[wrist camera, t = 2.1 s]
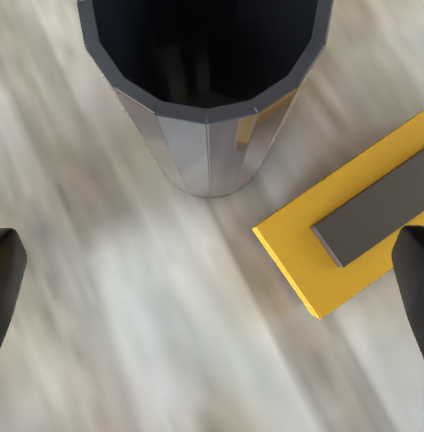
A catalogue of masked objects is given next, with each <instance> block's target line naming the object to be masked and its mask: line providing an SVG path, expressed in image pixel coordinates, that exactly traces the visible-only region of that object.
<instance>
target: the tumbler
mask: <svg viewBox="0 0 424 432" xmlns="http://www.w3.org/2000/svg"><path fill="white" fill-rule="evenodd" d="M333 1H334V0H77V7H78V12H79V17H80V23H81V28H82V33H83V39H84V44H85V47H86V50H87V52H88V53H89V55H90V57H91V58H92V60H93V61H94V63H95V65H96V66H97V68H98V69H99V71H100V73H101V74H102V76H103V77H104V79H105V81H106V82H107V84H108V85H109V87H110V89H111V90H112V92H113V93H114V95H115V97H116V98H117V100H118V101H119V103H120V105H121V106H122V108H123V109H124V111H125V113H126V114H127V116H128V118H129V119H130V121H131V122H132V124H133V126H134V127H135V129H136V130H137V132H138V134H139V135H140V137H141V138H142V140H143V142H144V143H145V145H146V146H147V148H148V150H149V151H150V153H151V154H152V156H153V158H154V159H155V161H156V162H157V164H158V165H159V167H160V168H161V170H162V171H163V173H164V174H165V176H166V177H167V179H168V180H169V181H170V182H171V183H173V184H174V185H175V186H176V187H178V188H179V189H181V190H182V191H184V192H186V193H189V194H191V195H194V196H198V197H205V198H215V197H222V196H225V195H229V194H231V193H233V192H235V191H237V190H239V189H241V188H242V187H243V186H245V185H246V184H247V183H248V182H249V181H251V179H252V178H253V177H254V175H255V174H256V172H257V171H258V169H259V167H260V166H261V164H262V163H263V161H264V159H265V157H266V156H267V154H268V152H269V150H270V148H271V146H272V144H273V143H274V141H275V139H276V137H277V135H278V133H279V131H280V130H281V128H282V126H283V124H284V122H285V120H286V118H287V117H288V115H289V113H290V111H291V109H292V107H293V106H294V104H295V102H296V100H297V98H298V96H299V94H300V93H301V91H302V89H303V87H304V85H305V83H306V81H307V80H308V78H309V76H310V74H311V72H312V70H313V68H314V67H315V65H316V63H317V61H318V59H319V57H320V55H321V54H322V52H323V50H324V48H325V45H326V43H327V37H328V31H329V25H330V19H331V13H332V7H333Z"/></svg>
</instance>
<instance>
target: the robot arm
mask: <svg viewBox="0 0 424 432" xmlns="http://www.w3.org/2000/svg"><path fill="white" fill-rule="evenodd" d="M391 259H392V263H393V267H394V271H395V274H396V278H397V282H398V285H399V289H400V293H401V296H402V300H403V304H404V308H405V311H406V314H407V317H408V320H409V323H410V325H411V328H412V331H413V333H414V336H415V338H416V341H417V343H418V346H419V348H420V351H421V353H422V356H423V358H424V226H422V225H405V226H403V227H402V228H401V230H400V232H399V234H398V237H397V239H396V242H395V244H394V246H393V249H392V253H391ZM26 264H27V253H26V251H25V249H24V246H23V244H22V242H21V240H20V238H19V235H18V233H17V231H16V230H15V229H13V228H0V348H1V345H2V343H3V340H4V338H5V335H6V332H7V330H8V327H9V324H10V322H11V319H12V316H13V312H14V309H15V305H16V301H17V297H18V294H19V290H20V286H21V283H22V279H23V275H24V271H25V268H26Z"/></svg>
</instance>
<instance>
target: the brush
mask: <svg viewBox="0 0 424 432" xmlns="http://www.w3.org/2000/svg"><path fill="white" fill-rule="evenodd" d="M405 225H422V226H424V110H423V111H422V112H420V113H419V114H417V115H416V116H414V117H413V118H411V119H410V120H409V121H407V122H406V123H404V124H403V125H401V126H400V127H398V128H397V129H396V130H394V131H393V132H391V133H390V134H388V135H387V136H385V137H384V138H382V139H381V140H380V141H378V142H377V143H375V144H374V145H372V146H371V147H369V148H368V149H367V150H365V151H364V152H362V153H361V154H359V155H358V156H356V157H355V158H353V159H352V160H351V161H349V162H348V163H346V164H345V165H343V166H342V167H340V168H339V169H337V170H336V171H335V172H333V173H332V174H330V175H329V176H327V177H326V178H324V179H323V180H322V181H320V182H319V183H317V184H316V185H314V186H313V187H311V188H310V189H308V190H307V191H306V192H304V193H303V194H301V195H300V196H298V197H297V198H295V199H294V200H293V201H291V202H290V203H288V204H287V205H285V206H284V207H282V208H281V209H279V210H278V211H277V212H275V213H274V214H272V215H271V216H269V217H268V218H266V219H265V220H264V221H262V222H261V223H259V224H258V225H256V226H255V227H253V228H252V230H253V231H254V233H255V234H256V236H257V237H258V239H259V240H260V241H261V243H262V244H263V246H264V247H265V249H266V250H267V251H268V253H269V254H270V256H271V257H272V259H273V260H274V261H275V263H276V264H277V266H278V267H279V269H280V270H281V272H282V273H283V274H284V276H285V277H286V279H287V280H288V282H289V283H290V284H291V286H292V287H293V289H294V290H295V292H296V293H297V294H298V296H299V297H300V299H301V300H302V302H303V303H304V304H305V306H306V307H307V309H308V310H309V312H310V313H311V314H312V315H314V316H315V317H317V318H318V319H322V318H323V317H324V316H326V315H327V314H329V313H330V312H331V311H333V310H334V309H336V308H337V307H338V306H340V305H341V304H343V303H344V302H346V301H347V300H348V299H350V298H351V297H353V296H354V295H355V294H357V293H358V292H360V291H361V290H362V289H364V288H365V287H367V286H368V285H369V284H371V283H372V282H374V281H375V280H376V279H378V278H379V277H381V276H382V275H383V274H385V273H386V272H388V271H389V270H390V269H392V268H393V263H392V259H391V253H392V249H393V246H394V244H395V242H396V239H397V237H398V234H399V232H400V230H401V228H402V227H403V226H405Z"/></svg>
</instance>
